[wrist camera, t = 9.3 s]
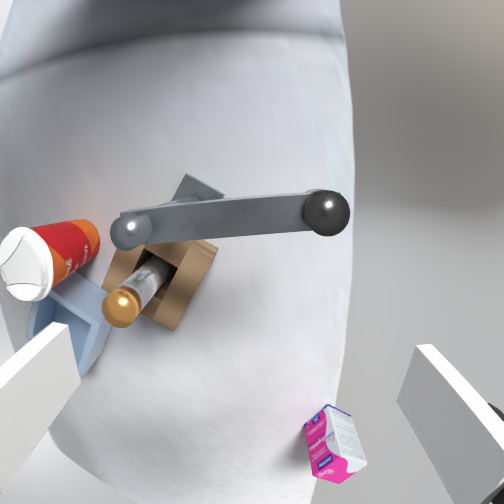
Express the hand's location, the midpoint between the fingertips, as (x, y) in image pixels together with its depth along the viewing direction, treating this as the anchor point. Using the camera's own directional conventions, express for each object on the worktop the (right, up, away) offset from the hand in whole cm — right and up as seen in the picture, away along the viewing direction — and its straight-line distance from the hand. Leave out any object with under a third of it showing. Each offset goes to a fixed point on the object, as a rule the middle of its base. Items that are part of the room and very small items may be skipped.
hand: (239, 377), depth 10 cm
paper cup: (-22, +6, +27) cm, 35 cm away
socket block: (-10, +3, +27) cm, 29 cm away
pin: (-10, +3, +27) cm, 29 cm away
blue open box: (-24, -4, +29) cm, 38 cm away
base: (-6, +10, +26) cm, 28 cm away
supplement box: (+13, -23, +34) cm, 43 cm away
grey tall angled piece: (-1, +10, +24) cm, 26 cm away
